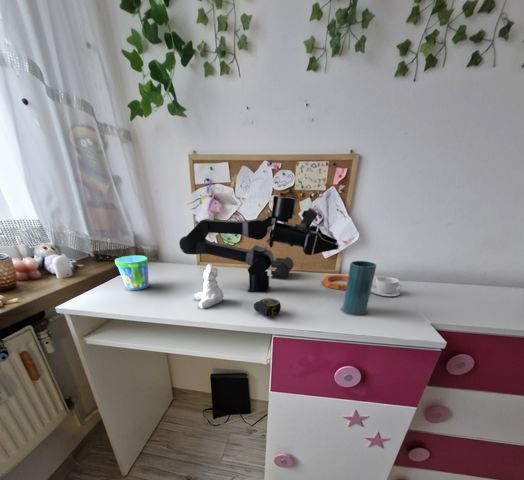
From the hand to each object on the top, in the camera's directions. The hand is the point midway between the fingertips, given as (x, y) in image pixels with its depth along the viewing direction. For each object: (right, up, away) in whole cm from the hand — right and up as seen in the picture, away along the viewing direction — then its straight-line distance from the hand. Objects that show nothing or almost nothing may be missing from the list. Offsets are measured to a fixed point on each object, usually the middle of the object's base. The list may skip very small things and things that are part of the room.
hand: (337, 244), depth 86 cm
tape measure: (-22, -23, -6) cm, 33 cm away
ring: (+7, -8, +19) cm, 21 cm away
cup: (+4, -22, -3) cm, 22 cm away
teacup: (+20, -13, +11) cm, 26 cm away
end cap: (-16, -3, +27) cm, 32 cm away
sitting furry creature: (-40, -18, +2) cm, 44 cm away
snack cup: (-69, -11, +13) cm, 71 cm away
